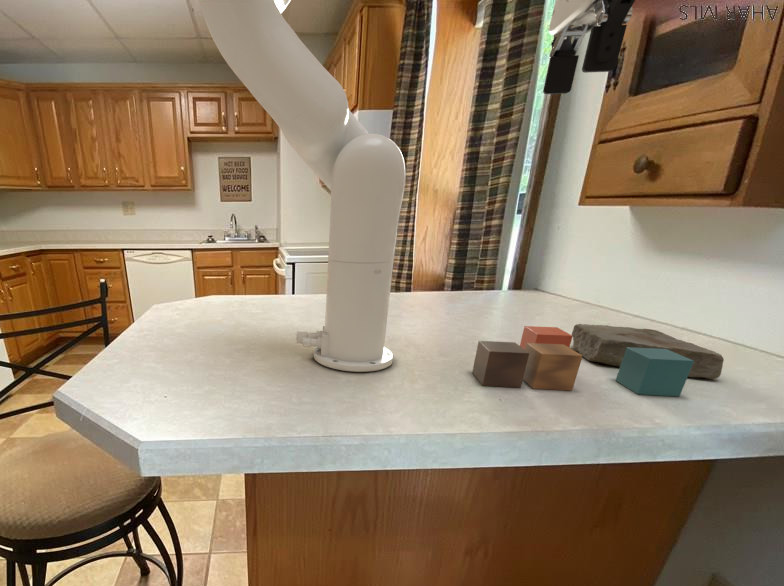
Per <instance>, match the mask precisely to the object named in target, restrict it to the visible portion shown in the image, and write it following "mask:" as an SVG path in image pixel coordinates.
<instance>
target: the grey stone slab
mask: <svg viewBox="0 0 784 586" xmlns="http://www.w3.org/2000/svg"><path fill="white" fill-rule="evenodd" d="M571 335H572V336H573V337H572V340H573V341H572V347H571V349H572V350H574V351H576V352H577V353H579V354H581V355H582V357H583V358H584V359H586V360H587V361H590V362H595V363H601V364H603V365H608V366H613V367H618V368H620V366H621V363H622V360H623V357H624V354H625V351H626V348H627V347H632V348H655V349H668V350H670V351H672V352H675V353H677V354H679V355H682V356H684V357H686V358H689V359H691V360H693V361H694V363H693V365H692V368H691V370H690V372H689V375H688V377H687V378H705V379H709V380H710V379H711V380H713V379H718V378H720V376H721V375H722V371H723V365H724V357H723V356H722V353H721V354H720V353H719V352H716V351H714V350H712V349H708V348H706V347H702V346H699V345H697V344H694V343H692V342H688V341H685V340H683V339H678V338H675V337H674V336H671V335H669V334H666V333H664V332H661V331H659V330H656V329H650V328H635V327H628V326H613V325H605V324H588V323H587V324H585V323H576V324H575V325H574V326H573V328H572V332H571Z"/></svg>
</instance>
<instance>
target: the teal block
mask: <svg viewBox="0 0 784 586" xmlns="http://www.w3.org/2000/svg"><path fill="white" fill-rule="evenodd" d="M693 363H694V361H693V360H691V359H689V358H686V357H684V356H682V355H679V354H677V353H675V352H672V351H670V350H668V349H655V348H632V347H627V348H626V351H625V354H624V357H623V360H622V363H621V366H620V367H619V369H618V372H617V375H616V377H615V381H616V382H617V383H619V384H620V385H622V386H624V387H625V388H627V389H628V390H630V391H631V392H633V393H635V394H637V395H645V396H660V397H661V396H662V397H663V396H664V397H681V394H682V392H683V389H684V387H685V384H686V382H687V380H688V378H689V377H688V375H689V372H690V370H691V368H692V365H693Z"/></svg>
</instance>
